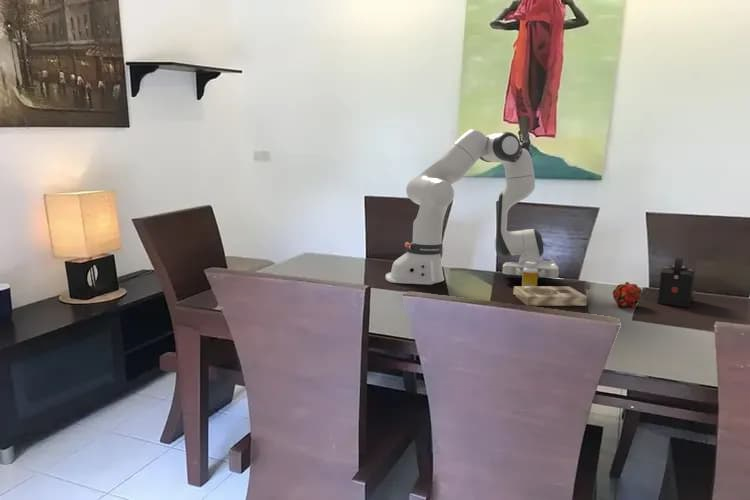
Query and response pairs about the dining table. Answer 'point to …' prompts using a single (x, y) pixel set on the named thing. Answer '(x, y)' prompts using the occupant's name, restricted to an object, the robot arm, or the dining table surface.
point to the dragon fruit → (627, 295)
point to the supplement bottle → (530, 274)
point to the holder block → (550, 295)
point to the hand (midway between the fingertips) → (530, 274)
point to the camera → (676, 285)
